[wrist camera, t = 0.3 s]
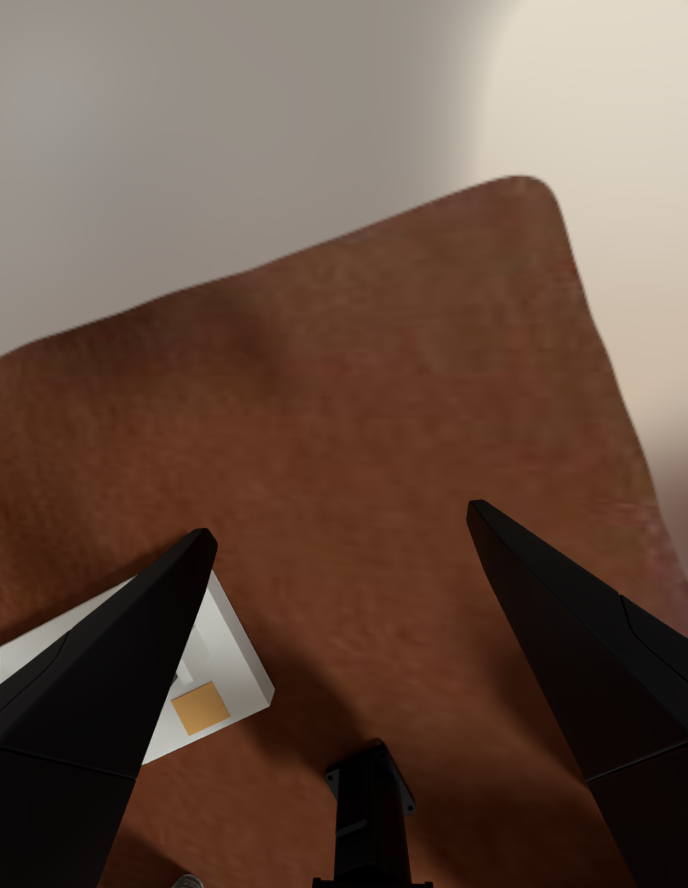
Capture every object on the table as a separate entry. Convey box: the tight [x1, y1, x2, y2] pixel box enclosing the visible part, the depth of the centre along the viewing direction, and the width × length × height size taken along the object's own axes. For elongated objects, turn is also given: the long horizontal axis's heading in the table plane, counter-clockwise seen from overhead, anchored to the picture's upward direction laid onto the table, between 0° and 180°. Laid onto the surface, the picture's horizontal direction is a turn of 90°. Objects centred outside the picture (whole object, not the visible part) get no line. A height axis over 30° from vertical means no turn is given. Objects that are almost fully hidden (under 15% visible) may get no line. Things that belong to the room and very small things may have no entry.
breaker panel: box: [0, 570, 275, 765], centre depth 20 cm, size 16×24×9 cm, turn 118°
